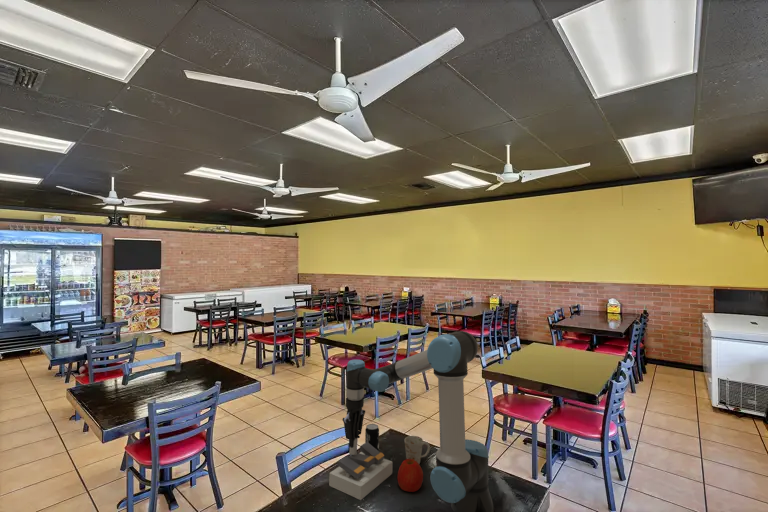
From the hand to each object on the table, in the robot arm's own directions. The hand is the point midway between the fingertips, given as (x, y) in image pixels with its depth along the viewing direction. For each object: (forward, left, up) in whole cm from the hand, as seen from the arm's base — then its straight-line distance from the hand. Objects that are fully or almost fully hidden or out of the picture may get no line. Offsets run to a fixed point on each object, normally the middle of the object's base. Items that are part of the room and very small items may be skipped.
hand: (353, 453), depth 153 cm
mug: (-17, -26, -9) cm, 32 cm away
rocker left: (-5, +7, -1) cm, 9 cm away
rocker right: (-5, -7, -1) cm, 9 cm away
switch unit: (-5, 0, -9) cm, 10 cm away
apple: (-24, -7, -9) cm, 26 cm away
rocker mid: (-5, 0, -1) cm, 5 cm away
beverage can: (+5, -21, -9) cm, 24 cm away
